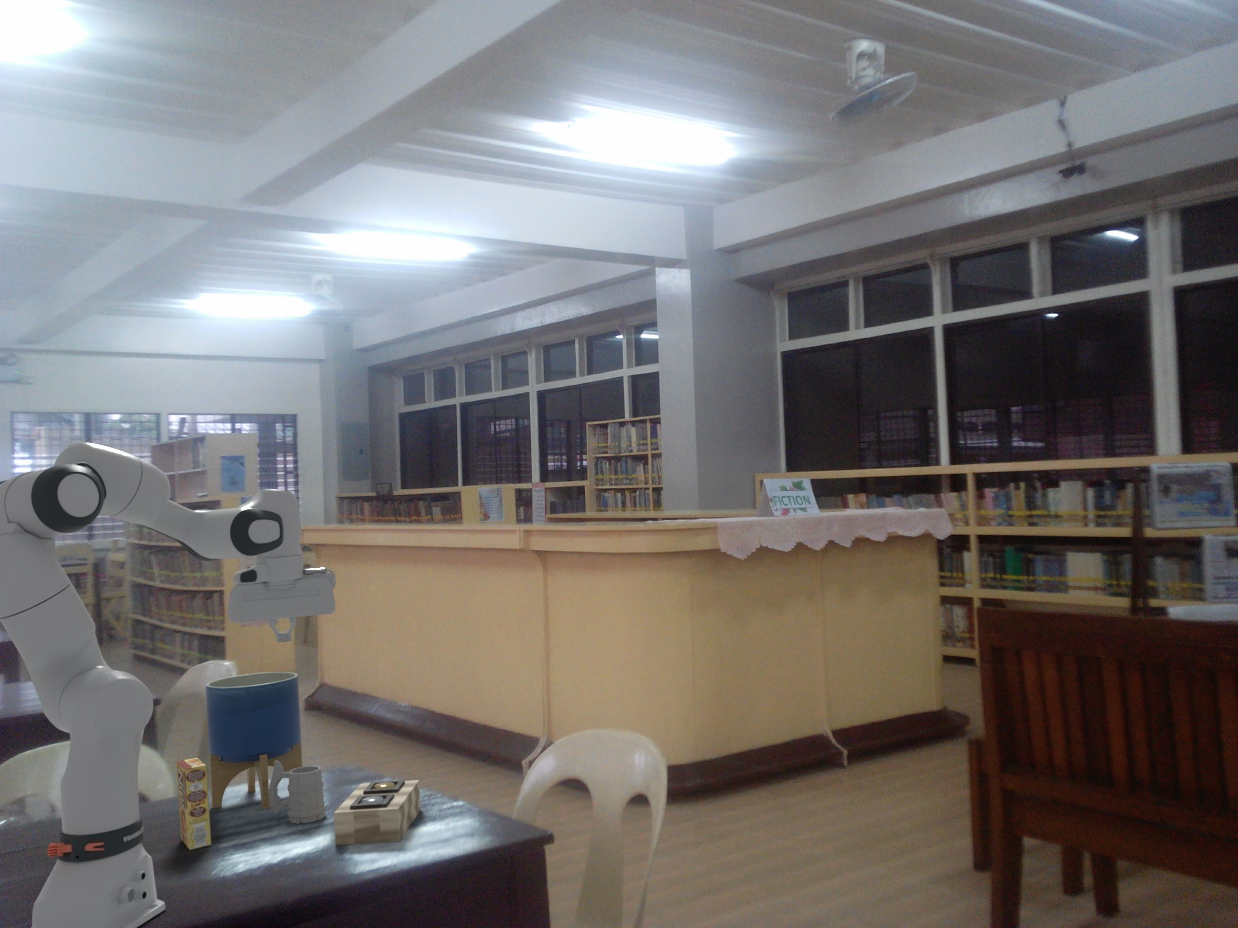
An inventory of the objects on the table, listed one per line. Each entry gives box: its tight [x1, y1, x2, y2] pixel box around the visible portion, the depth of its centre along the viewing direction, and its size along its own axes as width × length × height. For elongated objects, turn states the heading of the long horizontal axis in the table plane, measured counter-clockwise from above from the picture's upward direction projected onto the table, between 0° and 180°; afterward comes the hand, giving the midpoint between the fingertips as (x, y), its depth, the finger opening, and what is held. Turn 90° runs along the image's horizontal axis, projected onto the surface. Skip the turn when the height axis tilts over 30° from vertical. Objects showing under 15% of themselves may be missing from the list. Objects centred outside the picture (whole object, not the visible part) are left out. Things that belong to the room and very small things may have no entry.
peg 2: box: [374, 782, 395, 789], centre depth 209 cm, size 4×4×6 cm
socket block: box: [333, 779, 422, 846], centre depth 204 cm, size 20×12×7 cm, turn 0°
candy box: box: [176, 757, 212, 851], centre depth 202 cm, size 9×4×15 cm, turn 33°
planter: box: [205, 671, 303, 810], centre depth 231 cm, size 19×19×26 cm
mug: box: [268, 760, 327, 825], centre depth 214 cm, size 8×12×12 cm, turn 85°
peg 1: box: [362, 796, 383, 804], centre depth 199 cm, size 4×4×6 cm
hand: (284, 641), depth 206 cm, fingers closed
